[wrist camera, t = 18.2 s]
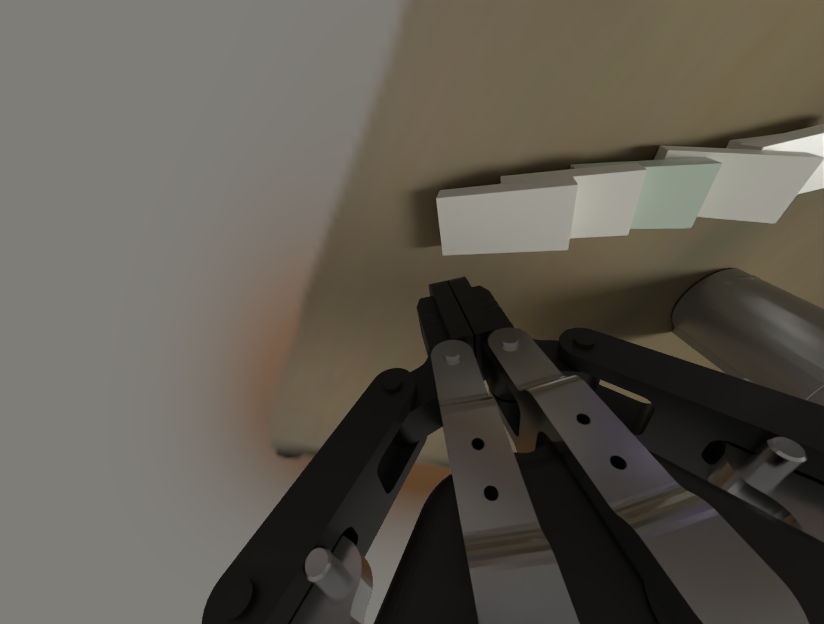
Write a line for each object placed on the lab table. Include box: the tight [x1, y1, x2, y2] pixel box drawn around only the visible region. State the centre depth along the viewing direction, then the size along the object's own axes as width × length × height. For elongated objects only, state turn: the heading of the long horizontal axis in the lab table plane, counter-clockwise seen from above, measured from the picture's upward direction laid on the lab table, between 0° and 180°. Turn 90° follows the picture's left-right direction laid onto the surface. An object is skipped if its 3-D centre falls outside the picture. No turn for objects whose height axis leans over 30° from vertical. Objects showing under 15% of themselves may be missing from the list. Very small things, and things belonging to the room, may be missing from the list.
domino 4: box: [654, 145, 824, 224], centre depth 26 cm, size 2×5×10 cm
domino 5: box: [736, 124, 824, 194], centre depth 27 cm, size 2×5×10 cm
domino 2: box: [500, 163, 647, 238], centre depth 25 cm, size 2×5×10 cm
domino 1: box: [436, 176, 578, 255], centre depth 25 cm, size 2×5×10 cm
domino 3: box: [570, 157, 722, 229], centre depth 26 cm, size 2×5×10 cm
